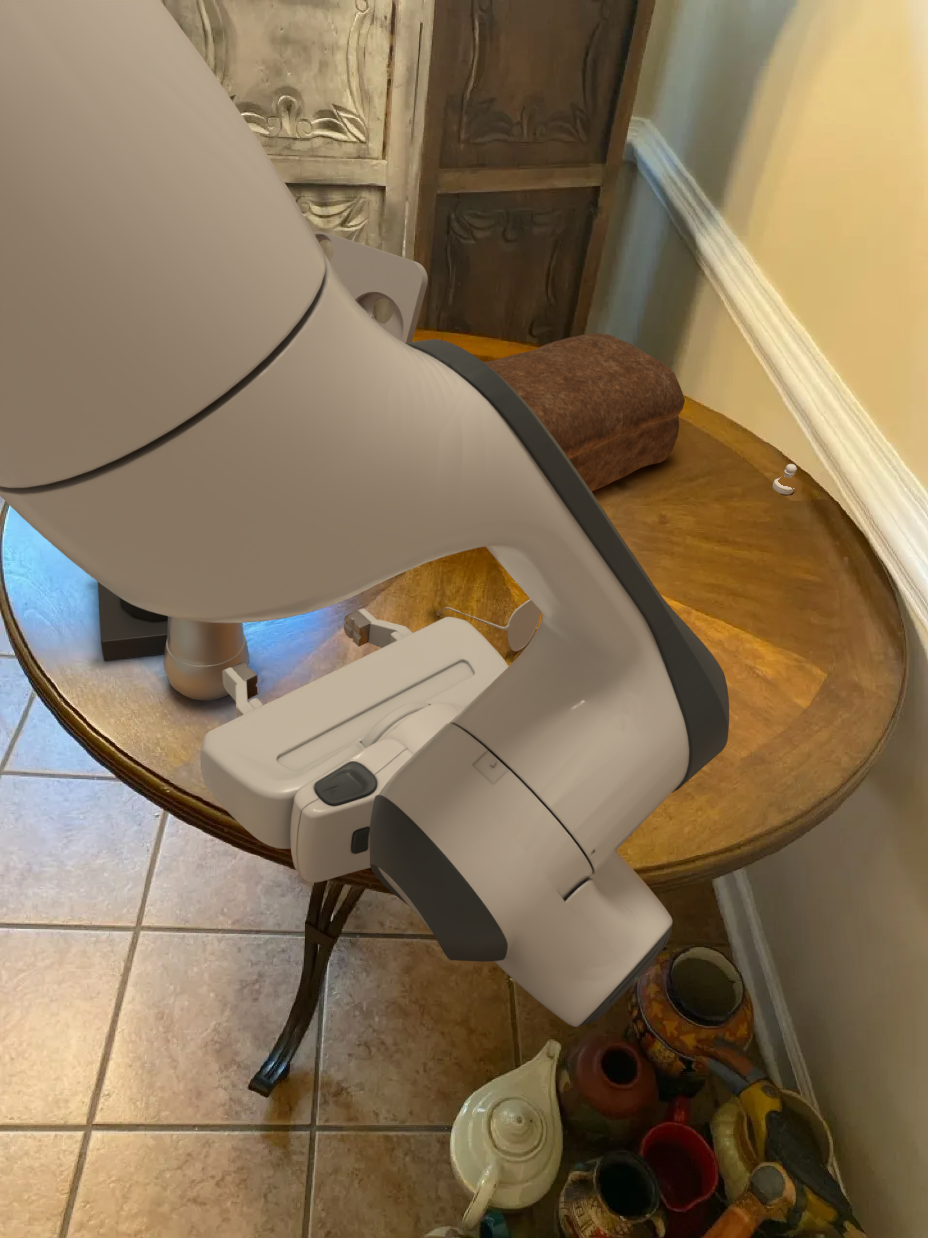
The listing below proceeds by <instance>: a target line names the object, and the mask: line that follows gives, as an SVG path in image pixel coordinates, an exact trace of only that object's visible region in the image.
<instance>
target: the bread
mask: <svg viewBox="0 0 928 1238" xmlns="http://www.w3.org/2000/svg"><path fill="white" fill-rule="evenodd" d="M483 362H484V363H485V364H487V365H488V366H489V367H490V368H492V369H493V370H494V371H495V372H496V373H498V374H499V375H500V376H501V377H502V378H503V379H504V380H505V381H506V382H507V383H508V384H509V385H510V386H511V387H512V388H513V389H514V390H515V391H516V392H517V393H518V394H519V395H520V396H521V397H522V398H523V399H524V401H525V402H526V403H527V404H528V405H529V407H530V408H531V409H532V410H533V411H534V413H535V414H536V415H537V416H538V418H539V419H540V420H541V422H542V423H543V424H544V425H545V427H546V428H547V429H548V431H549V432H550V433H551V435H552V436H553V437H554V439H555V440H556V442H557V443H558V444H559V446H560V447H561V448H562V450H563V451H564V453H565V454H566V456H567V457H568V458H569V460H570V461H571V463H572V464H573V465H574V467H575V468H576V470H577V471H578V473H579V474H580V476H581V477H582V478H583V480H584V481H585V483H586V484H587V486H588V487H589V489H590V490H591V492H594V491H596V490H598V489H601V488H603V487H606V486H608V485H610V484H611V483H613V482H615V481H618V480H621V479H623V478H624V477H627V476H628V475H630V474H632V473H634V472H635V471H637V470H639V469H641V468H644V467H646V466H647V467H648V466H651V465H656V464H661V463H662V462H664V461H665V460H667V459H668V458H669V456H670V455H671V452H672V451H673V450H674V447H675V444H676V442H677V439H678V437H679V430H680V419H679V415H680V414H681V412H682V411H683V409H684V406H685V401H686V400H685V397H684V393H683V390H682V388H681V385H680V383H679V380H678V378H677V376H676V373H675V372H674V370H672V369H671V368H670V367H669V366H668V365H667V364H666V363H664V362H662V361H660V360H659V359H657V358H656V357H653V356H652V355H650V354H648V353H647V352H645V351H643V350H642V349H640V348H638V347H637V346H635V345H633V344H632V343H630V342H627V341H626V340H623V339H621V338H618V337H615V335H614V336H613V335H611V334H607V333H599V332H596V333H595V332H594V333H584V334H580V335H577V336H572V337H567V338H563V339H560V340H556V341H553V342H549V343H546V344H544V345H542V346H540V347H538V348H536V349H533V350H527V351H523V352H520V353H515V354H512V355H508V356H505V357H502V358H498V359H493V360H488V361H483Z"/></svg>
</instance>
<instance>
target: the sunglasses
mask: <svg viewBox="0 0 928 1238" xmlns="http://www.w3.org/2000/svg"><path fill="white" fill-rule="evenodd" d="M445 610H449V611H453V612H455V613H458V614H461V615H464V616H467V617H469V618H472V619H474V620H477V621H479V622H481V623H484V624H487V625H489V626H491V627H494V628H497V629H499V630H502V631H506V641H507V644H508V647H509V648H510V650H511V651H513V652H519V651H521V650H523V649H525V648H526V647H527V646H528V644H529V643H530V641H531V640H532V638H533V637H534V635H535V633H536V631H537V629H538V626H539V622H540V618H541V614H542V612H541V611H540V610H539V609H538V607H537V606H536V605H535V604H534V603H533V602H532V600H531V599H530V598H529V599H528V600H526V601H524V603H522V604H521V605H519V606H518V607H517V608H515V610H514V611H513V612H512V614H511V616H510V617H509V619H508V622H507V625H505V626H501V625H499V624H496V623H493V622H490V621H487V620H484V619H482V618H478V617H476V616H473V615H470V614H467V613H465V612H461V611H460V610H458V609H455V608H452V607H449V606H446V607H443V608H442V609H441V610H440V611H439V612H438V613H436V616H438V617H439V616H441V615H442V613H443V612H444V611H445Z"/></svg>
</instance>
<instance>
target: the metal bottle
mask: <svg viewBox="0 0 928 1238" xmlns="http://www.w3.org/2000/svg"><path fill="white" fill-rule="evenodd" d="M247 641H248V640H247V639H246V635H245V632H244V623H209V622H199V621H191V620H184V619H178V618H173V617H169V616H168V632H167V641H166V646H165V653H164V654H163V668H164V672H165V674H166V677H167V680H168V682H169V684H170V685H171V687H172V688H173V689H174V690H176V691H177V692H178V693H180V694H181V695H183V696H184V697H186V698H189V699H192V700H197V701H214V700H218V699H222V698H224V697H226V696H229V695H230V694H229V693H228V692H227V691H226V690H225V687H224V685H223V676H222V671H223V670H225V669H227V668H229V667H232V666H234V665H236V664H239V663H241V662H246V663H247V664H248V666H249V664H250V651H249V646H248V642H247Z"/></svg>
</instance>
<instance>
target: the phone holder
mask: <svg viewBox="0 0 928 1238" xmlns="http://www.w3.org/2000/svg"><path fill="white" fill-rule="evenodd" d="M313 233H314V235H315V236H316V238H317V240H318V242H319V244H320V243H321V242H323V241H326V240H327V241H329V242H330V243H331V245H332V255H331V259H330V260H329V262H330V263H331V265H332V267H333V269H334V270H335V272H336V274H337V275H338V277H339V278H340V280H341V282H342V283H343V285H344V286H345V287H346V289H347V290H348V291H349V293H350V294H351V296H352V297H353V298H354V299H355V301H356V302H357V303H358V304H359V305H360V306H361V308H362V309H363V310H364V311H365V312H366V313H367V314H368V315H369V316H370V317H371V318H372V319H373V320H374V321H375V322H376V323H377V324H379V325H380V326H381V327H382V328H383V329H385V330H386V331H387V332H388V333H390V334H391V335H393V336H394V337H396V338H397V339H399V340H400V341H402V342H404V343H407V342H414V341H413V340H414V336H415V333H416V332H415V331H416V329H417V325H418V322H419V317H420V314H421V309H422V306H423V302H424V298H425V294H426V291H427V288H428V283H429V281H428V280H429V279H428V274H427V270H426V268H425V267H424V266H423V265H422V264H421V263H419V262H418V261H414V260H412V259H408V258H406V257H403V256H399V255H397V254H394V253H391V252H387V251H385V250H382V249H379V248H375V247H372V246H370V245H366V244H364V243H360V242H357V241H354V240H351V239H348V238H345V237H341V236H338V235H336V234H333V233H329V232H325V231H321V230H317V231H313ZM381 299H385V300H387V301H388V302H389V303H390V306H391V308H392V314H391V317H390V318H389V320H388V321H386V322H384V323H382V322H379V321H378V320H377V319H376V318H375V316H374V306H375V304H376V303H377V302H378V301H379V300H381Z"/></svg>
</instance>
